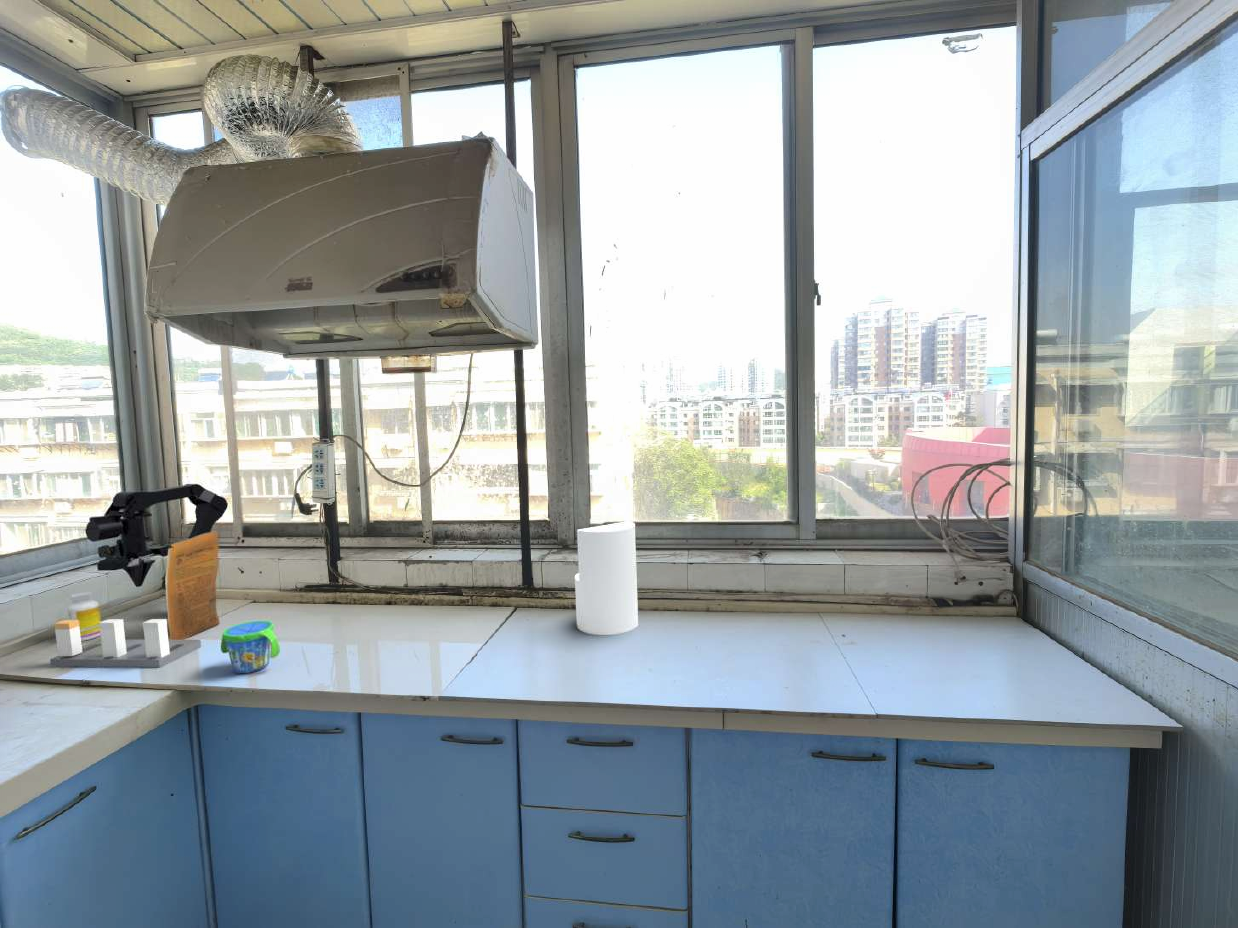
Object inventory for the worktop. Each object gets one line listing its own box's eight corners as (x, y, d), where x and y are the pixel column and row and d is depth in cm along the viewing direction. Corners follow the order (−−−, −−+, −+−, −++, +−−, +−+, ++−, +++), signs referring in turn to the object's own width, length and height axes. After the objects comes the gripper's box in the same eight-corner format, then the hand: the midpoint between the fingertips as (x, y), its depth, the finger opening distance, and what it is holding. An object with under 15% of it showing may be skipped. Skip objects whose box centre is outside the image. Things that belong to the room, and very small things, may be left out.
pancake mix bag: (235, 620, 182) (226, 529, 180) (179, 644, 163) (168, 544, 161) (216, 619, 183) (207, 529, 181) (158, 643, 165) (147, 543, 162)
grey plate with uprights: (100, 646, 164) (95, 607, 163) (201, 646, 161) (197, 607, 160) (50, 666, 151) (45, 624, 150) (159, 667, 148) (155, 624, 147)
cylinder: (650, 624, 165) (647, 525, 163) (598, 640, 156) (594, 534, 153) (615, 609, 180) (612, 517, 177) (565, 622, 170) (561, 525, 167)
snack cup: (294, 663, 148) (290, 623, 147) (254, 681, 138) (250, 639, 137) (249, 655, 154) (246, 617, 153) (208, 672, 144) (204, 632, 143)
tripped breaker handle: (68, 651, 154) (64, 619, 153) (82, 651, 154) (78, 619, 153) (58, 655, 151) (54, 623, 151) (72, 656, 151) (68, 623, 150)
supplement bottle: (108, 633, 174) (103, 590, 173) (86, 642, 168) (80, 597, 166) (87, 633, 175) (82, 590, 174) (64, 642, 168) (59, 597, 167)
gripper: (136, 528, 184) (141, 577, 186) (76, 541, 166) (82, 596, 167) (169, 527, 183) (174, 577, 184) (112, 541, 165) (119, 596, 166)
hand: (138, 586), depth 175 cm, fingers closed
